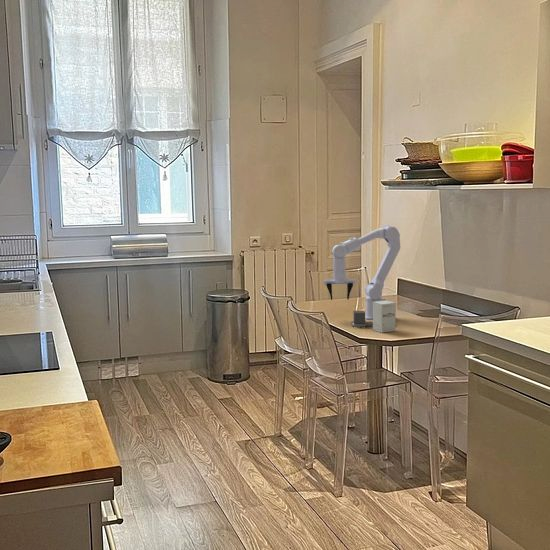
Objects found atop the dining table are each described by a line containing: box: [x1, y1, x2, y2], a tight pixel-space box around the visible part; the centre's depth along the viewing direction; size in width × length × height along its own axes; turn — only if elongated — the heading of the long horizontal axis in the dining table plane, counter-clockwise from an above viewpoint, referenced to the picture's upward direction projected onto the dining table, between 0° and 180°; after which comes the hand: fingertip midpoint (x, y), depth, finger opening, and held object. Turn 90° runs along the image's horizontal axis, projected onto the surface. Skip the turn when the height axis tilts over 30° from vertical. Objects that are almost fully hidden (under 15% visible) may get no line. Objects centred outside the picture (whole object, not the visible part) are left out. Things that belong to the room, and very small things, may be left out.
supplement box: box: [372, 299, 397, 333], centre depth 304 cm, size 7×7×13 cm
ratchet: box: [350, 321, 373, 328], centre depth 315 cm, size 19×8×4 cm, turn 87°
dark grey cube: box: [352, 310, 366, 324], centre depth 315 cm, size 5×5×5 cm
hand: (339, 299), depth 330 cm, fingers open, 7 cm apart
